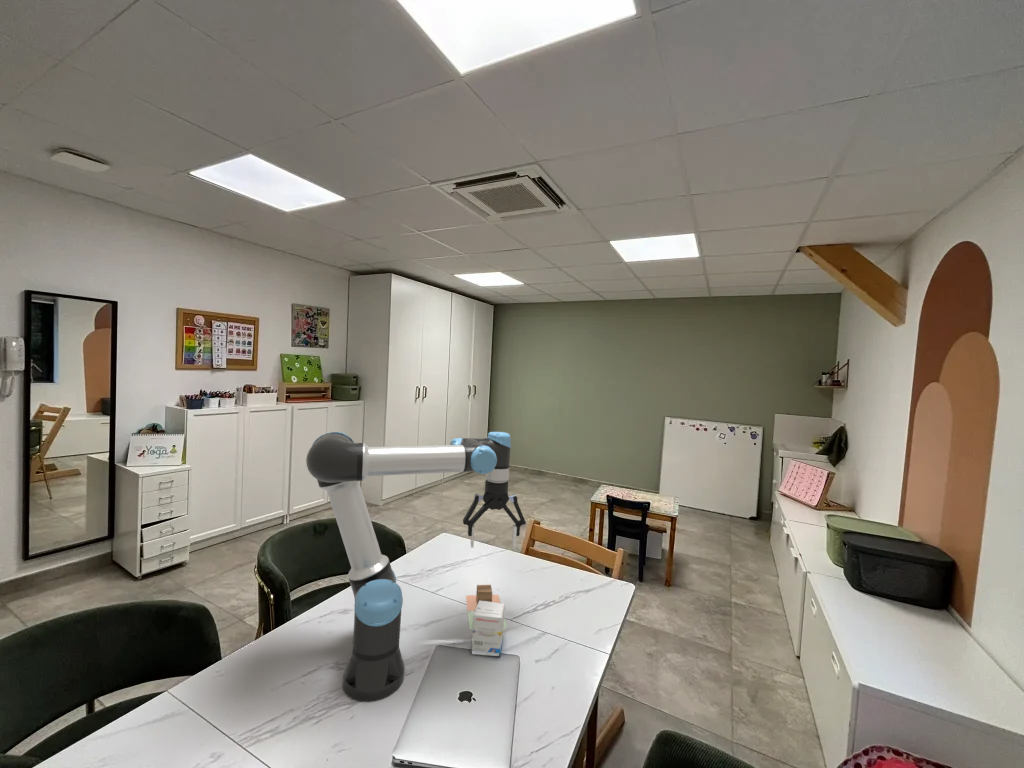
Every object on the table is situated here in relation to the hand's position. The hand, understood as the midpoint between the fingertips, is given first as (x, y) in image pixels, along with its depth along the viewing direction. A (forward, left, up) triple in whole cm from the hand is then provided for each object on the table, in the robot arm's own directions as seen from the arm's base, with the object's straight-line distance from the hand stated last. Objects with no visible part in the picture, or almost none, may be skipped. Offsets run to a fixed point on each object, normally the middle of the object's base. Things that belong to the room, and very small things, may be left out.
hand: (493, 545), depth 131 cm
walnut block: (+14, 0, -25) cm, 29 cm away
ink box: (-9, +1, -27) cm, 29 cm away
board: (+8, 0, -27) cm, 28 cm away
